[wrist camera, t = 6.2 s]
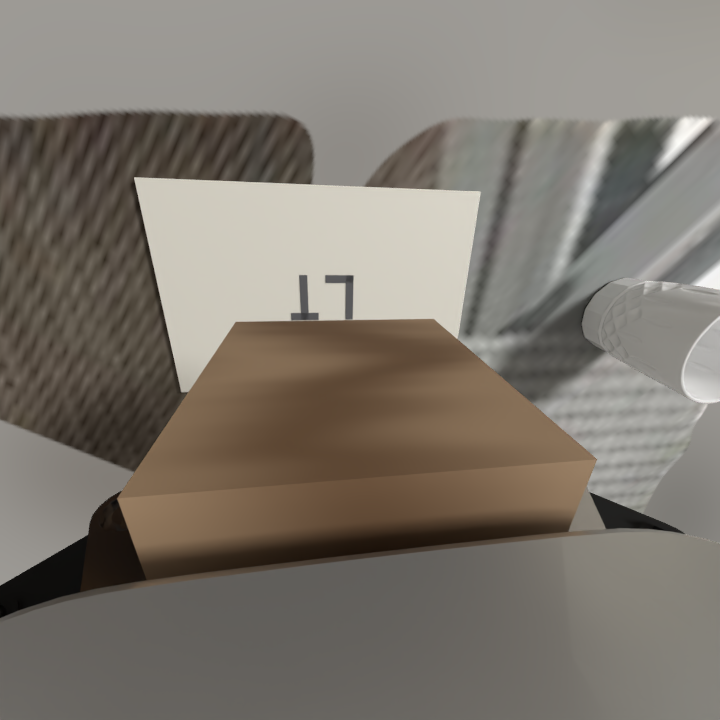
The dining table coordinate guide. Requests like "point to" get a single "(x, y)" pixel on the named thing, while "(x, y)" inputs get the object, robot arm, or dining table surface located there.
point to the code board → (301, 256)
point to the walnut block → (346, 451)
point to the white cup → (661, 333)
